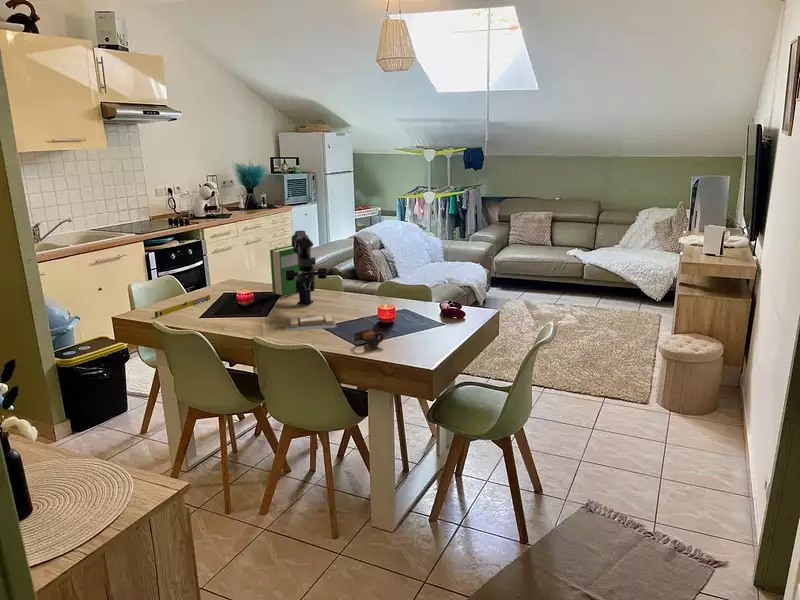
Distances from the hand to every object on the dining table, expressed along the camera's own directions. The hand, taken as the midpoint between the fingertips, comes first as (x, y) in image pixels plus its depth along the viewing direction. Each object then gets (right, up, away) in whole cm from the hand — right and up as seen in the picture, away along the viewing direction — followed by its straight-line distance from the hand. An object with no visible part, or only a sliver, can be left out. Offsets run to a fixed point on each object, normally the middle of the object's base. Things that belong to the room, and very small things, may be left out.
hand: (307, 289), depth 275 cm
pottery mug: (+30, -23, -37) cm, 53 cm away
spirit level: (-63, -9, +19) cm, 66 cm away
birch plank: (+2, -12, -6) cm, 14 cm away
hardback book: (-17, -1, +47) cm, 50 cm away
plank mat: (+3, -16, -9) cm, 18 cm away
